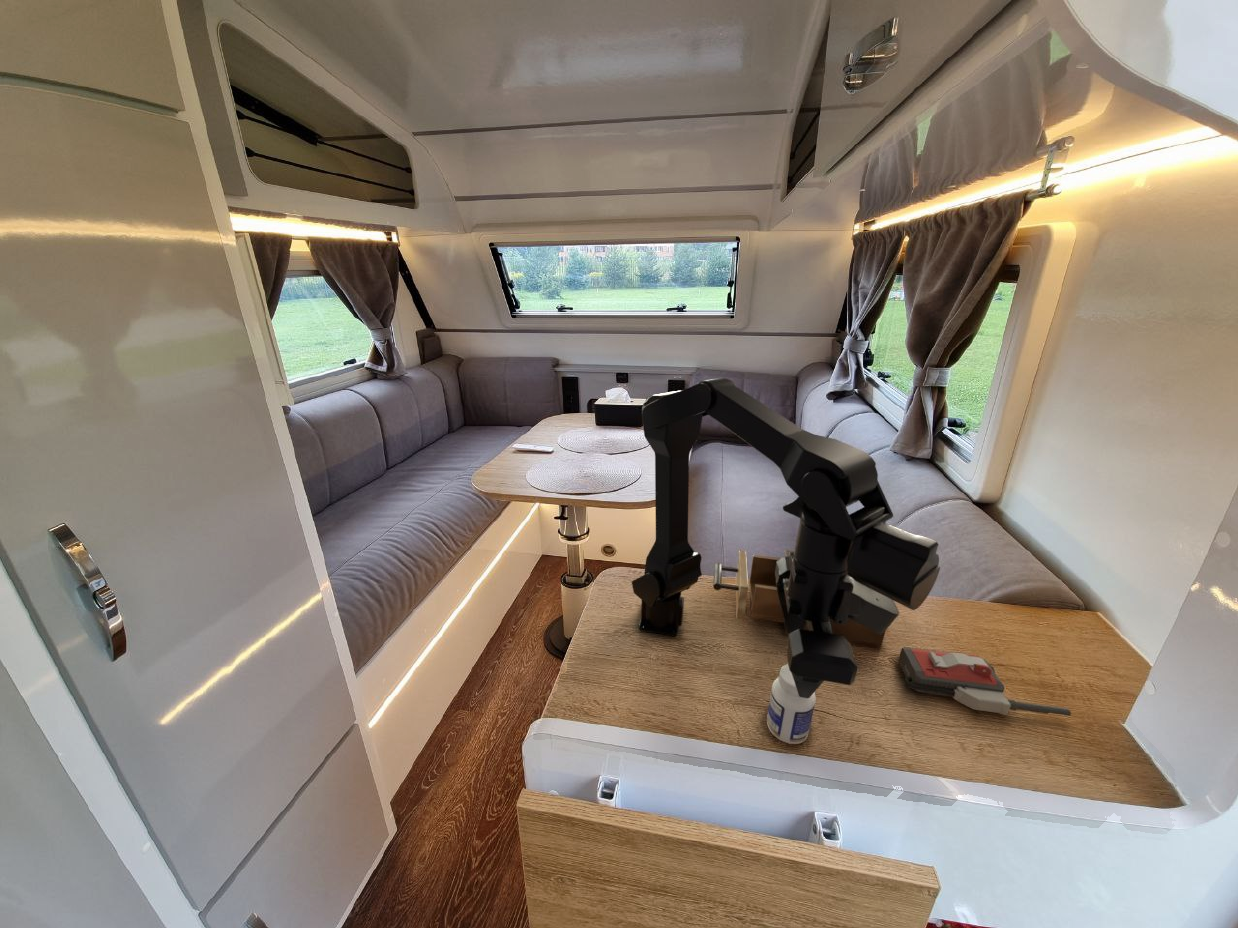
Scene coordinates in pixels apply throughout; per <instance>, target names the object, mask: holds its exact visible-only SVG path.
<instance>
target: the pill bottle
mask: <svg viewBox="0 0 1238 928" xmlns="http://www.w3.org/2000/svg"><path fill="white" fill-rule="evenodd" d="M770 690H771V691H770V694H769V695H770V696H769V702H768V708H767V715H766V724H767V727H768V730H769V732H771V734H772V735H773V736H774V737H775V738H777V739H778V740H779V741H781V742H783V743H786V744H790V745H798V744H801V743H804V742H805V741H806V740H807V738H808V737H809V734H810V729H811V725H812V720H813V716H814V711H815V706H816V699H817V698H816V693H815V692H814V693H813V694H812V695H811V697H810V698H802V697H799V695H798V691H797V688H796V685H795V682H794V679H793V676H792V673H791V671H790V670H789V666H788V663H786V664H784V665H783V666H782V667H781V668H780V670H779V675H778V677H777V678H776V679H775V680H774V681H773V683H772V686H771V689H770Z"/></svg>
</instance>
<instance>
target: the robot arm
mask: <svg viewBox="0 0 1238 928" xmlns="http://www.w3.org/2000/svg"><path fill="white" fill-rule="evenodd" d="M707 416H710V417H711V418H712V419H713V420H715V421H717V423H719V424H720V425H722V426H723V427H724V428H726V429H727V430H729V431H730V432H732V434H735V435H736V436H737V437H739V439H741V440H743V442H745V443H747V444H748V445H749V446H750V447H752V448H753V449H755V450H756V451H757V452H759V453H760V454H761V455H763V456H764V457H765V458H767V459H768V460H770V461H771V462H772V463H774V464H775V466H776V467H777V468H779V470H780V472H781V474H782V476H783V479H784V481H785V483H786V485H787V487H788V488H789V489H790V490H792V491H793V492H794V493H795V494H796V495H797V498H796V499H794V500H792V501H790V502H788V503H785V504H784V505H783V506H782V510H783V511H784V512H786V513H788V514H790V515H792V516H795V517H796V518H798V519H799V523H798V530H797V535H796V540H795V546H794V550H793V551H794V552H790V556H789V557H787V556H784V555H783V557H780V558H781V559H780V560H778V561H777V563H776V569H775V577H776V586H777V593H778V597H779V600H780V604H781V608H782V612H783V616H784V620H785V624H786V627H787V631H788V634H787V640H786V648H785V653H786V660H787V664H788V666H789V670H790V671H791V673H792V676H793V679H794V682H795V685H796V688H797V691H798V695H799V697H802V698H810V697H811V695H812V694H813V693H815V692H816V691H817V690H818V689H819V688H820V686H821V685H822V684H823V683H824V682H829V683H834V684H841V685H847V686H851V685H852V684H854V683H855V680H856V677H857V674H858V669H859V666H858V663H857V660H856V656H855V654H854V651H853V648H852V644H850V643H849V642H848V641H847V640H846V639H845V637H844V636H843V635H836V634H833V632H832V629H831V625H830V622H829V620H833V621H834V623H837V624H844V625H846V623H847V619H848V618H849V619H851V620H853V621H855V622H857V623H859V624H861V625H863V626H866V627H868V628H870V629H872V630H873V632H875V633H877V634H883V633H884V631H885V630H886V631H887V629H888V628H889V627H890V626H891V625H892V623H893V622H894V621H895V620H896V619H897V618H898V616H899V615H900V611H899V609H898V607H897V605H896V603H898V604H900V605H901V606H904V607H905V608H907V609H910V610H911V611H916V610H917V609H918V608H920V607H921V606H922V605H923V603H924V602H925V601H926V600H927V598H928V596H929V594H930V593H931V591H932V589H933V588H934V585H935V584H936V581H937V579H938V577H939V573H940V570H941V567H940V566H939V564H940V556H939V554H938V553H937V552H938V547H939V543H938V541H936V540H933V539H931V538H929V537H926V536H922V535H917V534H913V533H910V532H908V531H905V530H904V529H901V528H898V527H896V526H893V525H890V524H888V523H886V522H888V521H889V520H891V519H892V518H894V513H893V510H892V509H891V507H890V504H889V502H888V499H887V498H886V495H885V493H884V491H883V489H882V487H881V485H880V482H879V474H878V470H877V467H876V465H877V463H876V461H875V459H874V458H873V457H872V456H871V455H869V454H868V453H867V452H866V451H864V450H863V449H861V448H858V447H856V446H853V445H850V444H849V443H846V442H843V441H842V440H838V439H837V438H832V437H828V436H823V435H819V434H815V433H812V432H809V431H807V430H805V429H803V428H801V427H799V426H798V425H797V424H795V423H794V422H792V421H790V420H789V419H787V418H786V417H784V416H783V415H781V414H780V413H778V412H777V411H775V410H773V409H772V408H770V407H768V406H767V405H766V404H764V403H763V402H761V401H760V400H758V399H756V398H755V397H753V396H751V394H749V393H747V392H746V391H744V390H742V389H741V388H739V387H738V386H737V385H736V383H734V381H732V380H731V379H729V378H727V377H718V378H713V379H712V378H711V379H705V380H701V381H699V382H697V384H694V385H692V386H689V387H688V388H685V389H682V390H677V391H675V390H674V391H669V392H663V393H658V394H652V395H651V396H649V397H648V398H647V399H646V400H645V401H644V402H643V404H642V408H641V419H642V429H643V435H644V438H645V440H646V441H647V443H648V445H649V446H650V448H651V449H652V451H653V453H654V486H655V487H654V490H655V491H654V492H655V493H654V494H655V495H654V499H655V503H654V504H655V505H654V506H655V540H654V543H653V545H652V546H651V548H650V550H649V551H648V554H647V556H646V558H645V565H644V574H643V575H641V576H639V577H637V578H635V579H633V580H632V581H631V585H632V591H633V594H634V595H635V596H637V597H638V598H639V599H640V600H641V606H640V607H641V608H640V609H641V610H640V620H639V624H638V631H641V632H646V633H654V634H660V635H666V636H670V637H671V636H672V637H677V636H678V634H679V628H680V627H681V626H683V619H684V607H685V596H682V592H684V591H686V590H690V589H691V587H692V586H694V585H695V584H697V583H698V581H699V578H700V577H702V576H703V572H702V569H701V563H702V555H701V553H699V552H697V551H695V550H694V548H693V547H692V545H691V544H690V542H689V490H690V488H689V487H690V486H689V485H690V484H689V483H690V454H691V451H692V449H693V447H694V445H695V443H696V441H697V440H698V438H699V436H700V433H701V429H702V424H703V423H702V422H703V418H705V417H707ZM857 502H859V503H860V504H861V505H862V506H863V507H862V508H860V509H857V510H856V511H854V512H852V513H850V514H849V511H848V509H847V507H849V506H851V505H853V504H855V503H857ZM895 602H896V603H895ZM806 623H807V626H808V630H804V628H805V625H806Z"/></svg>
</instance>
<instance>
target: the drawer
mask: <svg viewBox="0 0 1238 928" xmlns="http://www.w3.org/2000/svg"><path fill="white" fill-rule="evenodd" d="M737 558H738V559H737V566H736V567H734V566H726V565H722V564H721V563H720V562H716V563H715V564H713V565H714V566H713V581H712V582H713V583H712V587H713V589H714V590H715V591H721V590H722V589H723V590H724V589H725V590H730V591H735V619H736V620H737V621H744V619H745V612H746V605H747V599H748V592H749V601H750V615H751V618H752V619H758V620H766V621H771V622H778V623H783V624H784V623H785V620H784V616H783V612H782V608H781V604H780V600H779V597H778V593H777V586H776V577H775V569H776V563H777V561H778V560H780V559H781V558H782V557H777V556H775V557H774V556H769V555H767V556H766V555H760V554H752V559H751V560H752V561H751V569H750V574H749V576H748V563H747V551H746V550H742V549H739V550H738V557H737ZM723 571H724V572H732V573H736V574H735V585H733V584H726V583H723V581H722V580H723V578H722V577H723ZM748 577H749V579H748ZM748 590H749V591H748Z"/></svg>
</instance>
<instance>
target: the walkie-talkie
mask: <svg viewBox="0 0 1238 928" xmlns="http://www.w3.org/2000/svg"><path fill="white" fill-rule="evenodd" d="M897 662H898V664H899V666H900V669H901V670H902V672H903V674H904V676H905V678H904V685H905V686H906V687H908V688H910V689H912V690H914V691H916V693H922V694H930V695H937V696H946V697H950V698H951V697H952V698H953V699H954V700H955V701H957V702H958V703H960V704H962V705H964V706H966V707H967V708H970V709H972V710H974V711H975V710H976V711H981V712H987V713H988V712H989V713H995V714H998V715H999V714H1000V715H1004V716H1008V714H1009V711H1010V710H1011V711H1022V712H1023V711H1024V712H1032V713H1039V714H1047V715H1048V714H1053V715H1062V716H1067V717H1068V716H1071V715H1072V711H1071V710H1070V709H1069V708H1067V707H1062V706H1061V707H1060V706H1054V705H1046V704H1039V703H1030V702H1023V701H1016V700H1015V699H1011V698H1010V699H1009V698H1007V697H1006V696H1005V693H1004V691H1005V684H1004V682H1002V681H1001V679H1000V678H999V676H998V675H997V674H996V671H995V668H994V667H993V665H991V664H989V663H988V661H987V660H986V659H985V658H984V657H982V656H980V655H974V654H967V653H960V652H959V653H958V652H952V651H951V652H950V651H942V650H934V649H928V648H927V649H925V648H918V647H910V646H903V647H902V648H901V650H900V653H899V656H898V659H897Z"/></svg>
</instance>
